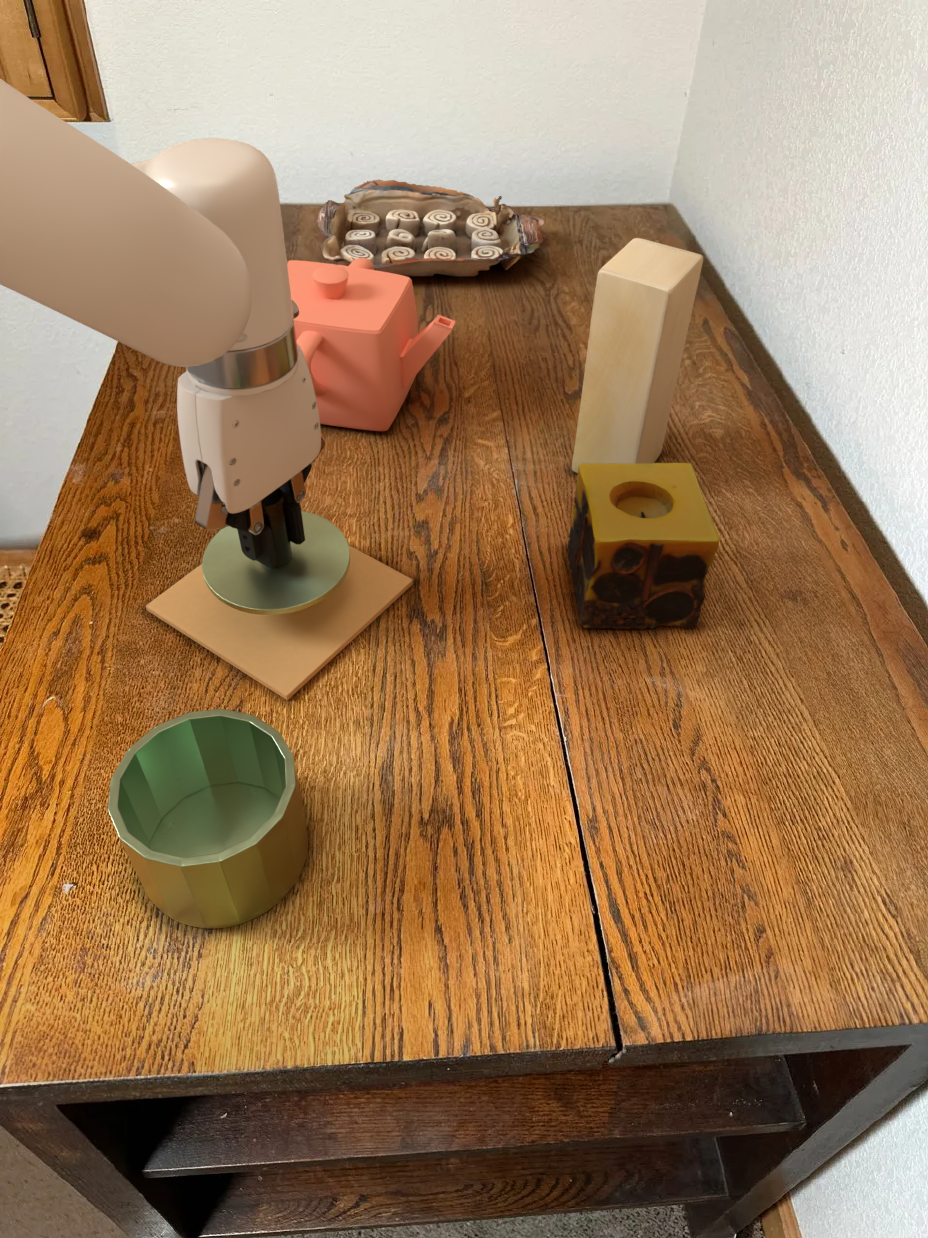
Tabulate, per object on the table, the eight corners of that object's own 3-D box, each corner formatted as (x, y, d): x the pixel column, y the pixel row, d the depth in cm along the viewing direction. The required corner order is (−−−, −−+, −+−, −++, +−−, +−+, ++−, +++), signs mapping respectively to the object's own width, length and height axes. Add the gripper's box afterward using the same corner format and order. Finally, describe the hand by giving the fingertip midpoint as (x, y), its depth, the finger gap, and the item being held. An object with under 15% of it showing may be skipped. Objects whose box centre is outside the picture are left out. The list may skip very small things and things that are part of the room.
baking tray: (529, 212, 132) (532, 172, 128) (559, 287, 118) (563, 245, 114) (316, 218, 129) (313, 178, 125) (320, 297, 115) (316, 254, 111)
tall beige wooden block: (597, 429, 98) (628, 232, 82) (662, 452, 95) (707, 254, 80) (562, 469, 93) (589, 268, 77) (630, 495, 90) (671, 293, 75)
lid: (281, 643, 72) (268, 572, 66) (173, 577, 76) (152, 505, 71) (380, 557, 78) (375, 486, 73) (275, 501, 83) (263, 429, 77)
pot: (224, 963, 58) (199, 901, 52) (105, 866, 63) (69, 798, 56) (341, 835, 65) (332, 766, 58) (225, 754, 69) (205, 682, 63)
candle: (697, 630, 79) (725, 543, 71) (579, 632, 78) (594, 544, 71) (674, 547, 86) (697, 460, 78) (564, 549, 85) (577, 461, 78)
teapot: (234, 442, 94) (211, 317, 84) (310, 332, 109) (297, 214, 99) (424, 475, 92) (423, 350, 81) (475, 358, 106) (480, 239, 96)
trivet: (287, 700, 72) (286, 696, 72) (146, 610, 78) (145, 605, 78) (413, 584, 81) (413, 579, 81) (278, 511, 87) (277, 506, 87)
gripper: (282, 281, 68) (307, 479, 82) (105, 380, 59) (166, 584, 73) (361, 314, 65) (373, 513, 79) (188, 423, 56) (236, 627, 70)
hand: (274, 546), depth 76 cm, fingers closed on lid, 2 cm apart
